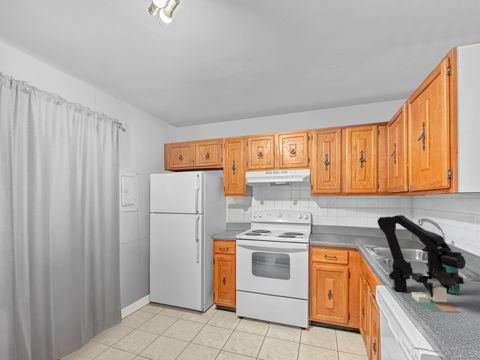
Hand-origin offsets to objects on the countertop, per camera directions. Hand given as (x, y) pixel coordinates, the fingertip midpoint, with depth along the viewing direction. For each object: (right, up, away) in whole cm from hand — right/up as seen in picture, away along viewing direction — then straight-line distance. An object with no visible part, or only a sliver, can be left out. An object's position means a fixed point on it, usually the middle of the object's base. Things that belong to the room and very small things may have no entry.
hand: (437, 297), depth 110 cm
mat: (-2, -4, +1) cm, 5 cm away
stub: (0, -1, 0) cm, 1 cm away
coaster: (+1, -3, -3) cm, 5 cm away
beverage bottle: (+17, -4, +12) cm, 21 cm away
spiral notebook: (-3, -4, +6) cm, 8 cm away
